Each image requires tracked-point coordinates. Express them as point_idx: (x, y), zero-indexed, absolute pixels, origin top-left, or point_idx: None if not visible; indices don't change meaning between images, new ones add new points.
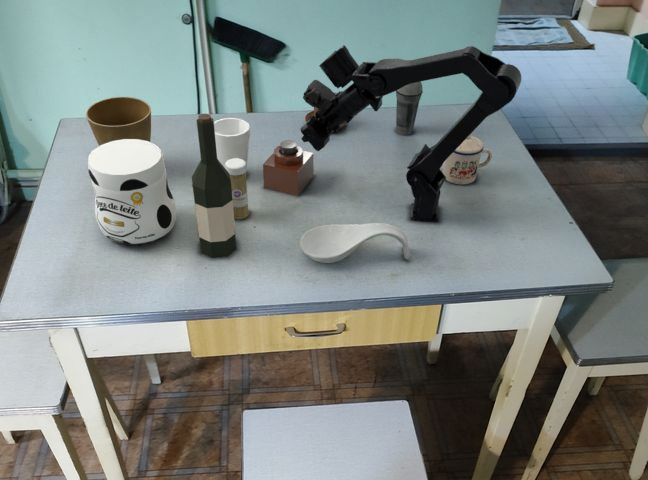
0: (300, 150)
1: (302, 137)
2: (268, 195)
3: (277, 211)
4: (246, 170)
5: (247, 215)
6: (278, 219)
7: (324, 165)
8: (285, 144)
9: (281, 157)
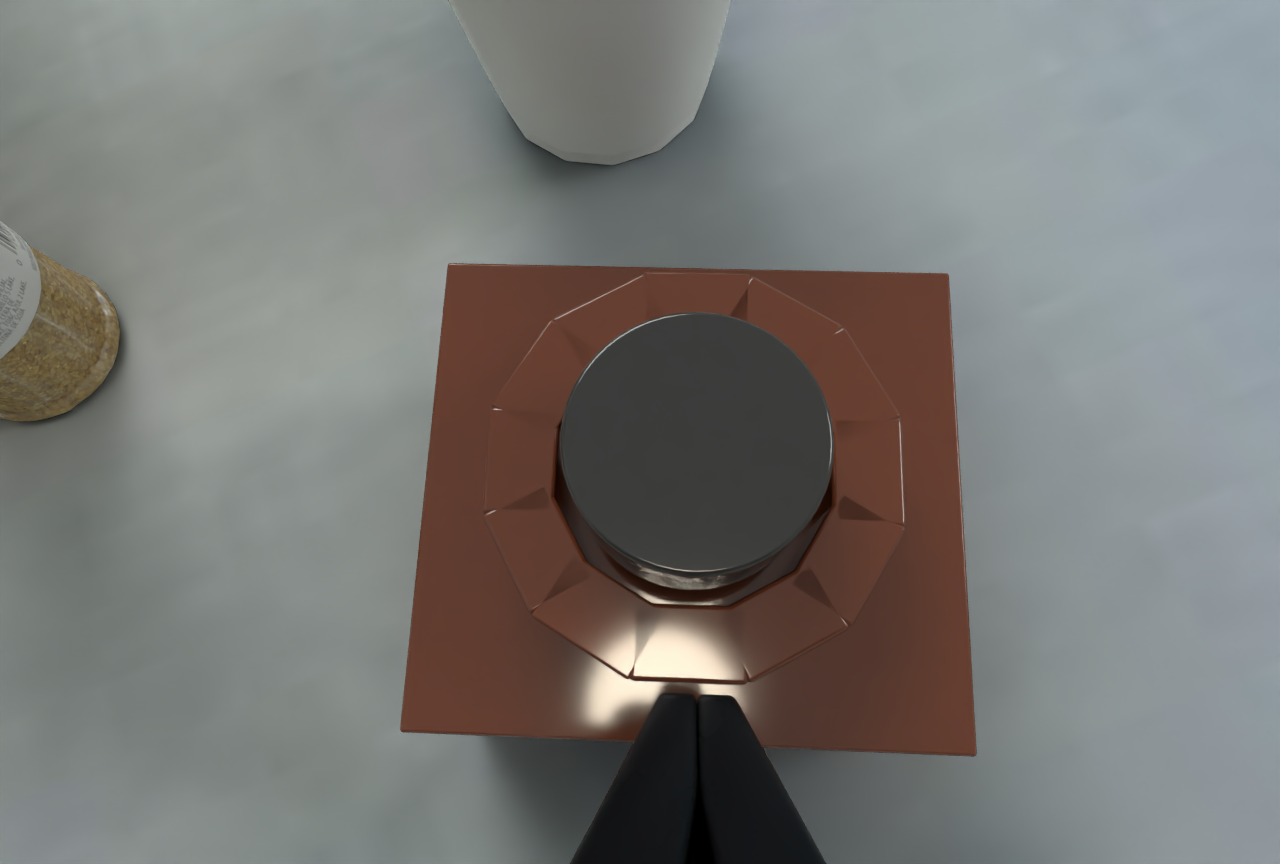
0: (776, 626)
1: (641, 731)
2: (405, 451)
3: (174, 629)
4: (635, 132)
5: (13, 419)
6: (50, 689)
7: (1156, 766)
8: (670, 398)
9: (489, 441)
